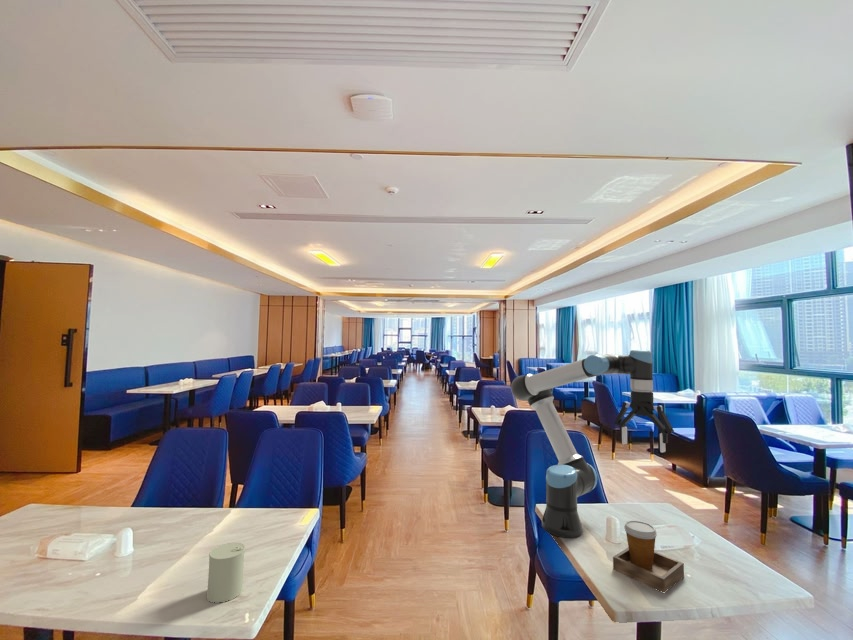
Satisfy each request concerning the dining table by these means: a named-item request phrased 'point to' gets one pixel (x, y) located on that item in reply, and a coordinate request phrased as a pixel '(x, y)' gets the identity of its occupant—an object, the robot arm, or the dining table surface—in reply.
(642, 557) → the disposable coffee cup
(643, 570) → the cup tray
